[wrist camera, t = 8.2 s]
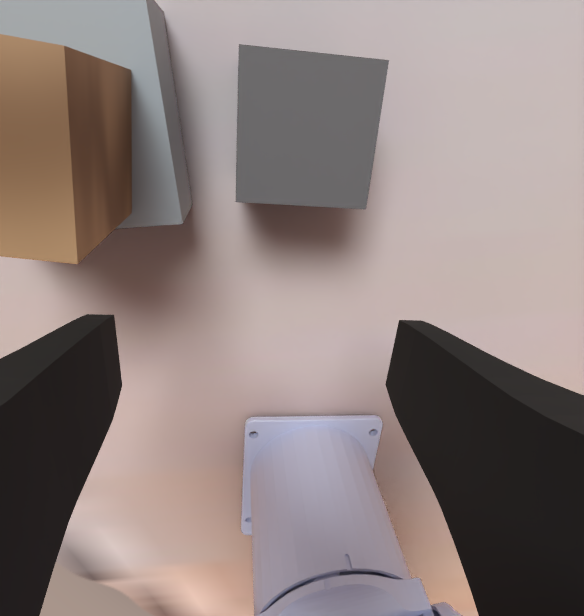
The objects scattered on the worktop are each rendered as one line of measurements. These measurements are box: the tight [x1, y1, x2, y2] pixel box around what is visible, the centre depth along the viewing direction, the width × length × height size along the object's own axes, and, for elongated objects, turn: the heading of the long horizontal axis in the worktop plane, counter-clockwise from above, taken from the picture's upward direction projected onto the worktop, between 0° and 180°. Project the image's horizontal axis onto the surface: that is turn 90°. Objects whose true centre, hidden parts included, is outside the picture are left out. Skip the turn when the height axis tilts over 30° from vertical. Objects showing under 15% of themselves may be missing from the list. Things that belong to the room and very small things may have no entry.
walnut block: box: [0, 34, 132, 264], centre depth 11 cm, size 4×4×6 cm
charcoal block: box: [236, 44, 389, 209], centre depth 15 cm, size 4×4×4 cm
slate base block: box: [0, 0, 192, 229], centre depth 15 cm, size 7×7×4 cm
